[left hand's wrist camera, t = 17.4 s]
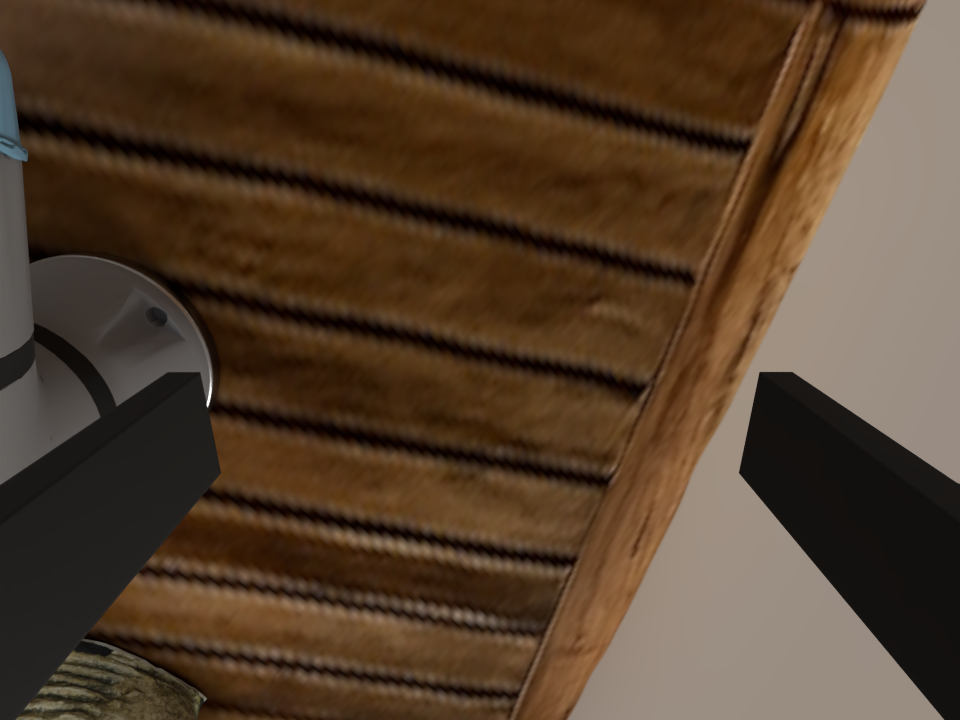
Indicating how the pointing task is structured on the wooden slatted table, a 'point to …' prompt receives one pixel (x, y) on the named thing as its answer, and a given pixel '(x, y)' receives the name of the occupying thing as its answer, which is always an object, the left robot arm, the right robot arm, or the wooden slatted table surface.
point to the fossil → (112, 689)
